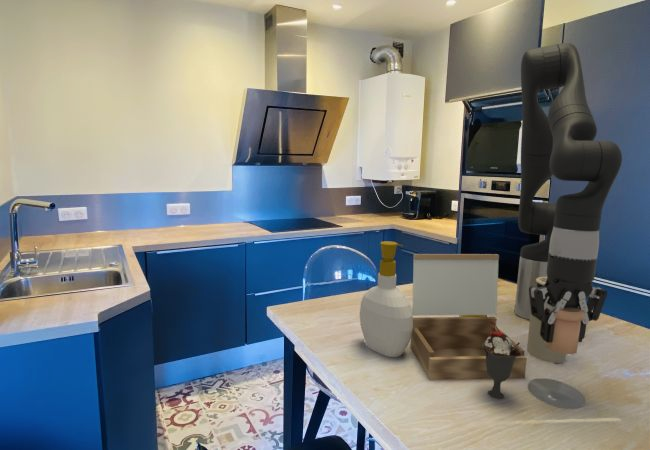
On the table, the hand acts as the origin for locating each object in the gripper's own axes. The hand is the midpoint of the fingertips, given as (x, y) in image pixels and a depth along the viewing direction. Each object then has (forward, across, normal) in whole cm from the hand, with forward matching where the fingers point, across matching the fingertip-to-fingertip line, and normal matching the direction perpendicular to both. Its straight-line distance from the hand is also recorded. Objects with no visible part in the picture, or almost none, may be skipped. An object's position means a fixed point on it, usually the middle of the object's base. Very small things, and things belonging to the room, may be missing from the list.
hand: (561, 340), depth 75 cm
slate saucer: (+11, 0, 0) cm, 11 cm away
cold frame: (+11, +13, -12) cm, 21 cm away
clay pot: (+1, 0, 0) cm, 1 cm away
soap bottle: (+12, +29, -20) cm, 37 cm away
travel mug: (+12, -8, -16) cm, 21 cm away
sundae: (+12, +12, 0) cm, 17 cm away
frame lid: (-4, +13, -19) cm, 24 cm away
